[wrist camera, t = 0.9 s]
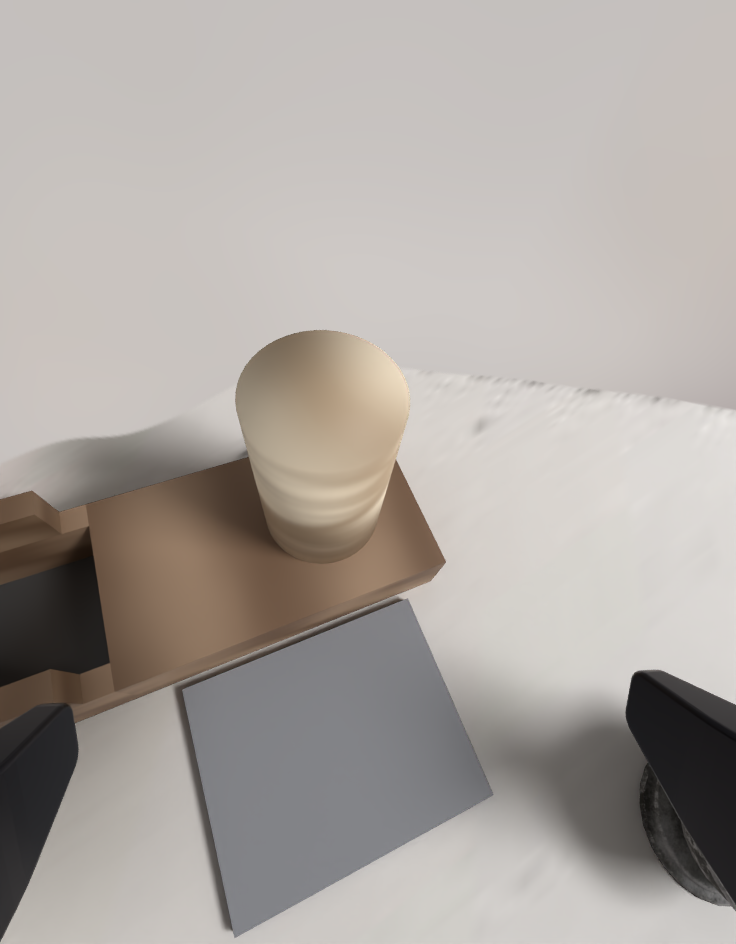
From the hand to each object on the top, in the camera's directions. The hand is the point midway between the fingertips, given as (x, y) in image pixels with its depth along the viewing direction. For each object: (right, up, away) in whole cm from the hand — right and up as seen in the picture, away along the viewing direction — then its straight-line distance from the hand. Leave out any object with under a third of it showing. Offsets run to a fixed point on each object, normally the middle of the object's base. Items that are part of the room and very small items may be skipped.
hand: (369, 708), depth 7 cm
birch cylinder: (-2, +2, +12) cm, 13 cm away
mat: (-1, -7, +11) cm, 13 cm away
